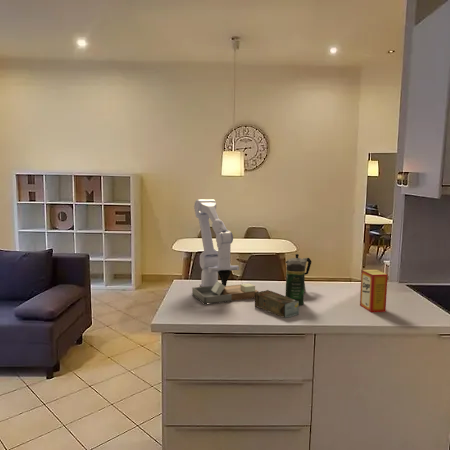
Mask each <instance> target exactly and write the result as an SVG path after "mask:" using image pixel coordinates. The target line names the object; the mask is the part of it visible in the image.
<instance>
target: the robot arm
mask: <svg viewBox="0 0 450 450" xmlns="http://www.w3.org/2000/svg"><path fill="white" fill-rule="evenodd" d="M193 207H194V214H195V217H196V218H197V219H198V222H199V223H198V224H199V229H200V234H201V235H200V236H201V240H202V247H203V251H202V252H201V253H200V255H199V266H200V268H201V270H202V271H201V276H200V278H201V279H200V281H201V282H200V284H199V287H206V286H214V285H215V283H216V282H217V281H218V282H219V278H220V281H221V282H220V283H221V284H223V285H224V286H225V287H226V286H227V283H228V280H229V278H230V275H231V274H232V273H231V271H240V266H239V265H237V264H236V265H231V246H232V245H231V244H232V243H233V241H234V236H233V232H232V231H231V230H229V229H227V227H226V225H225V223H224V221H223V220H222V219H220V218H219V215H218V212H217V201H216V200H215V199H213V198H212V199H196V200H195V201H194V206H193ZM210 221H211V224H210ZM211 228H212V230H213V232H214V233H215V235H216V236H215V242H216V246H217V247H216V248H217V250H216V249H215V248H214V243H213V237H212V236H213V235H212V231H211Z"/></svg>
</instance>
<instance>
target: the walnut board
mask: <svg viewBox="0 0 450 450" xmlns="http://www.w3.org/2000/svg"><path fill="white" fill-rule="evenodd" d="M257 292H260V291H259V290H257V289H255V291H253V292H244V291H242V290H241V284H233V285H232V284H230V285H226V287H225V288H224V289H223V291H222V292H221V294H223V295H227V294H231V295H232V296H231V302H232V301H240V300H249V299H250V300H251V299H255V293H257Z"/></svg>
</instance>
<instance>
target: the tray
mask: <svg viewBox="0 0 450 450" xmlns="http://www.w3.org/2000/svg"><path fill="white" fill-rule="evenodd" d="M212 288H213V286H206V287H202V286H197V287H196V286H195V287H192V294H193V295H192V294H191V295H192V296H194V297H195V296H196V297H197V298H198V299H199V300H198V299H197V298H196V297H195V298H196V299H197V300H198V301H200V300H201V301H202V302H203V303H204V304H206V305H208V304H207V303H215V304H220V303H219V302H224V303H231V302H232V301H231V296H232V295H231V294H227V295H223V294H220V295H217V294H216V293H214V292H213V291H211V289H212ZM201 301H200V302H201ZM202 302H201V303H202ZM203 303H202V304H203ZM204 304H203V305H204Z"/></svg>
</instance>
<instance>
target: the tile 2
mask: <svg viewBox="0 0 450 450" xmlns="http://www.w3.org/2000/svg"><path fill="white" fill-rule="evenodd" d="M240 285H241V290H242V291H244V292H253V291H255V290H256V285H254V284H252V283H242V284H240Z"/></svg>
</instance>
